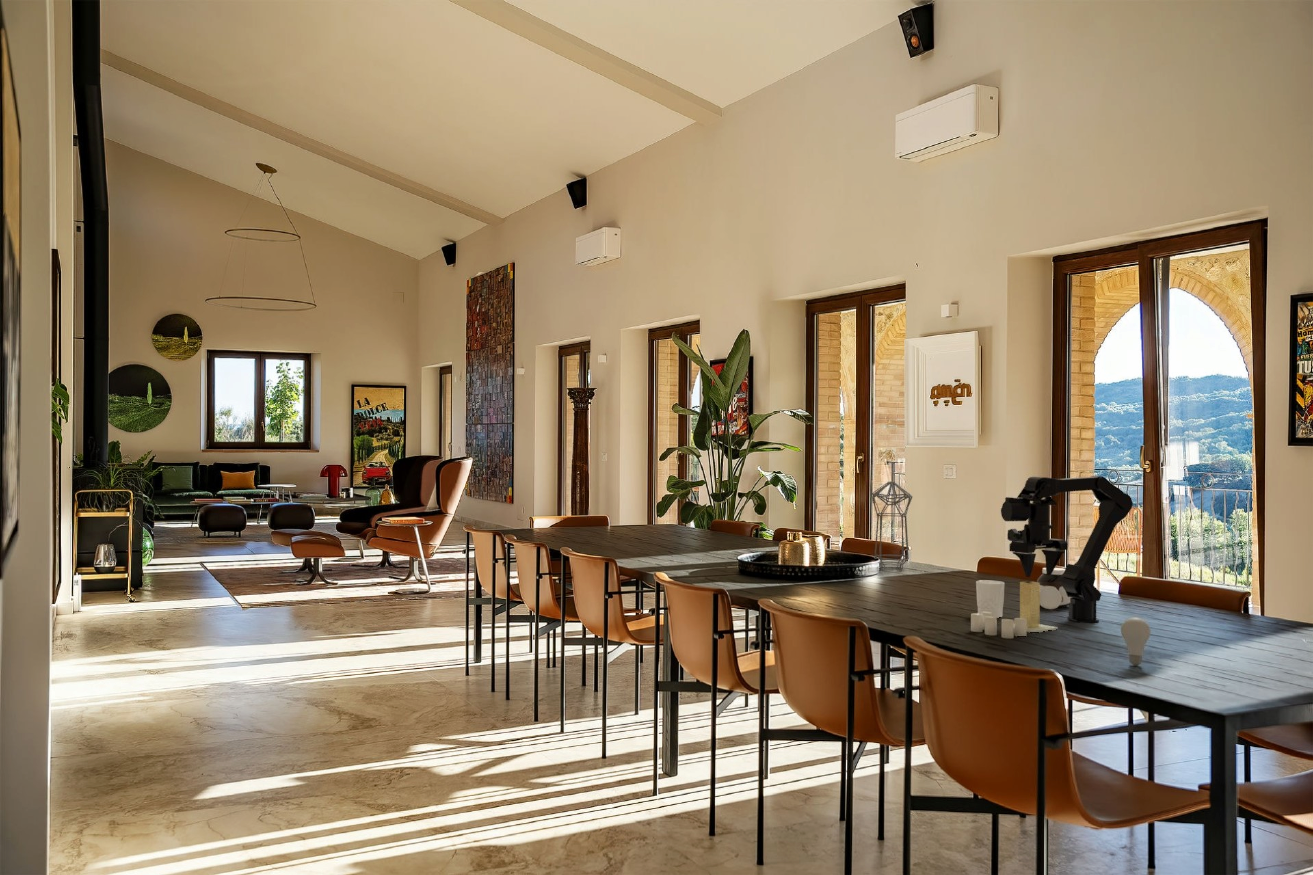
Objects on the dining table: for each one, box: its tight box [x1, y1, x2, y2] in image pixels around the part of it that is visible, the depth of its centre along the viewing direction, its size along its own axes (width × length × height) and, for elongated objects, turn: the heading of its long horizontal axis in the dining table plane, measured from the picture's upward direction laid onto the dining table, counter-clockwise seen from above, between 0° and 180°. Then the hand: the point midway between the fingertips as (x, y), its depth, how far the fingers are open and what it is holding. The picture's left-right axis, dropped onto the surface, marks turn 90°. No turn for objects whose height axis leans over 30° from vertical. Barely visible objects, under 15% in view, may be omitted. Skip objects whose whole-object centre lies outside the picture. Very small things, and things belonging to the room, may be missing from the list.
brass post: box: [1019, 580, 1041, 628], centre depth 275 cm, size 4×4×12 cm
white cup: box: [975, 579, 1005, 619], centre depth 294 cm, size 8×8×10 cm
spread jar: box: [1036, 567, 1072, 610], centre depth 311 cm, size 12×11×12 cm
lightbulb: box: [1120, 617, 1151, 667], centre depth 230 cm, size 6×6×11 cm
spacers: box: [970, 612, 1028, 639], centre depth 268 cm, size 8×14×4 cm, turn 32°
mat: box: [1027, 623, 1058, 633], centre depth 275 cm, size 10×10×1 cm
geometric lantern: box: [870, 480, 913, 571], centre depth 400 cm, size 16×16×35 cm
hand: (1038, 576), depth 285 cm, fingers open, 9 cm apart
